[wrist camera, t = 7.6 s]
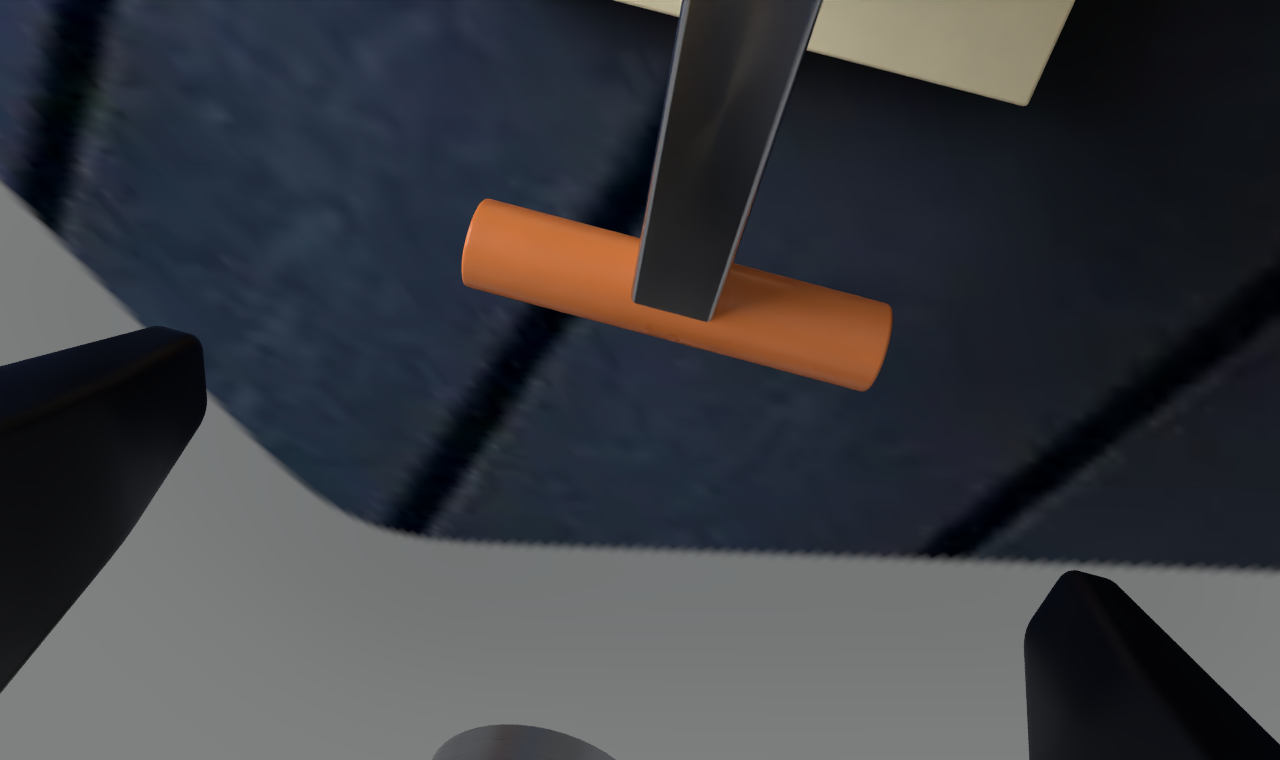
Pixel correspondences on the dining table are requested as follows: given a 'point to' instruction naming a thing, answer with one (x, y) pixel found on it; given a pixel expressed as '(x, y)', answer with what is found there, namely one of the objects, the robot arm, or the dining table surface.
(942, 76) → the bracket
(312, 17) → the dining table surface
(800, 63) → the lever
